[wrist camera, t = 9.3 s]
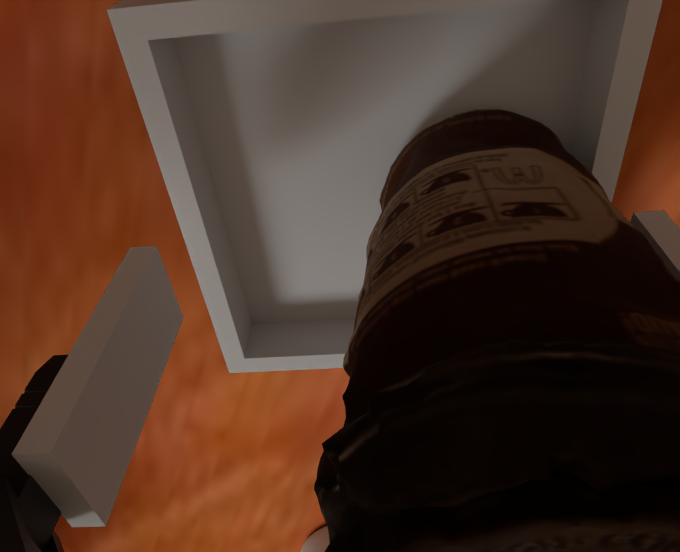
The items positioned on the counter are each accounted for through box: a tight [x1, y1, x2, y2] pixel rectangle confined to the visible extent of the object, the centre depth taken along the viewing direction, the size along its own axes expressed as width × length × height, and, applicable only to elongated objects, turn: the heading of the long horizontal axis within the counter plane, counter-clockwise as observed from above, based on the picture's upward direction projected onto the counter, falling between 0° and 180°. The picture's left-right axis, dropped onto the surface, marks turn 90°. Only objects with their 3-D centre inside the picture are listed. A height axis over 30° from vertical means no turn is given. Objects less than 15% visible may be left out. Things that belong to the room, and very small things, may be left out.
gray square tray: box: [107, 0, 663, 373], centre depth 18 cm, size 14×14×3 cm
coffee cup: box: [314, 108, 680, 552], centre depth 13 cm, size 9×8×13 cm
